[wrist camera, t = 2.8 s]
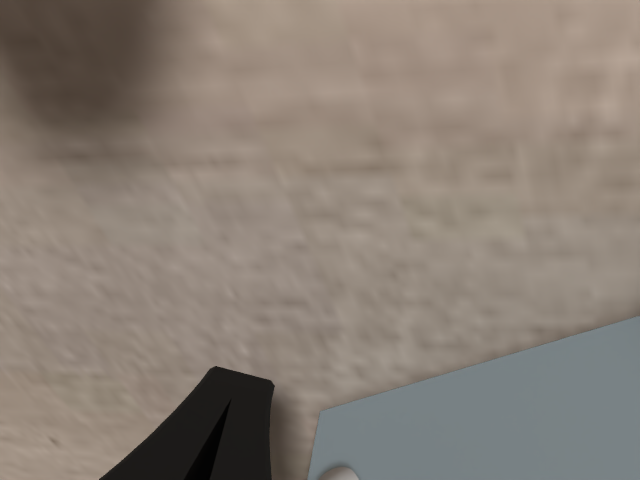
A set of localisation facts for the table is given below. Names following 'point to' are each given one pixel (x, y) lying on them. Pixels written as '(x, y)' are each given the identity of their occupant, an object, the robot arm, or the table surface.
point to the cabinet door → (499, 418)
